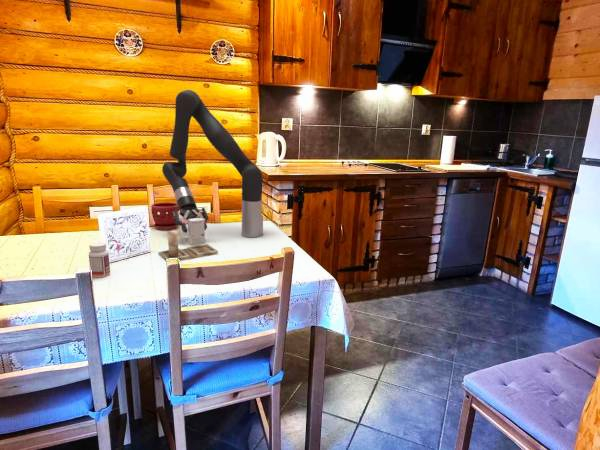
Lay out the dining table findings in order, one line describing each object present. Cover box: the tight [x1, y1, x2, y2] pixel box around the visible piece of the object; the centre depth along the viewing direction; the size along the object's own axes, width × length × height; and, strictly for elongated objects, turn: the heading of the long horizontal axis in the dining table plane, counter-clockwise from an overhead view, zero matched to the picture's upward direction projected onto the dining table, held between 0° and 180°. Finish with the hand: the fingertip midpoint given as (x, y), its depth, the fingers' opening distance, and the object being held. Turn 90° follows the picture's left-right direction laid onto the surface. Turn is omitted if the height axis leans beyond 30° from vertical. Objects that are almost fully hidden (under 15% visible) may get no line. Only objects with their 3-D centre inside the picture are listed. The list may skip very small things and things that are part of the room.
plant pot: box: [150, 201, 180, 231], centre depth 201 cm, size 13×13×12 cm
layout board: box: [157, 243, 219, 262], centre depth 163 cm, size 21×13×2 cm, turn 127°
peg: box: [167, 229, 179, 258], centre depth 159 cm, size 4×4×10 cm
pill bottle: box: [88, 241, 111, 279], centre depth 141 cm, size 6×6×11 cm
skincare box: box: [187, 218, 206, 246], centre depth 175 cm, size 6×4×12 cm
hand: (195, 230), depth 175 cm, fingers open, 8 cm apart
